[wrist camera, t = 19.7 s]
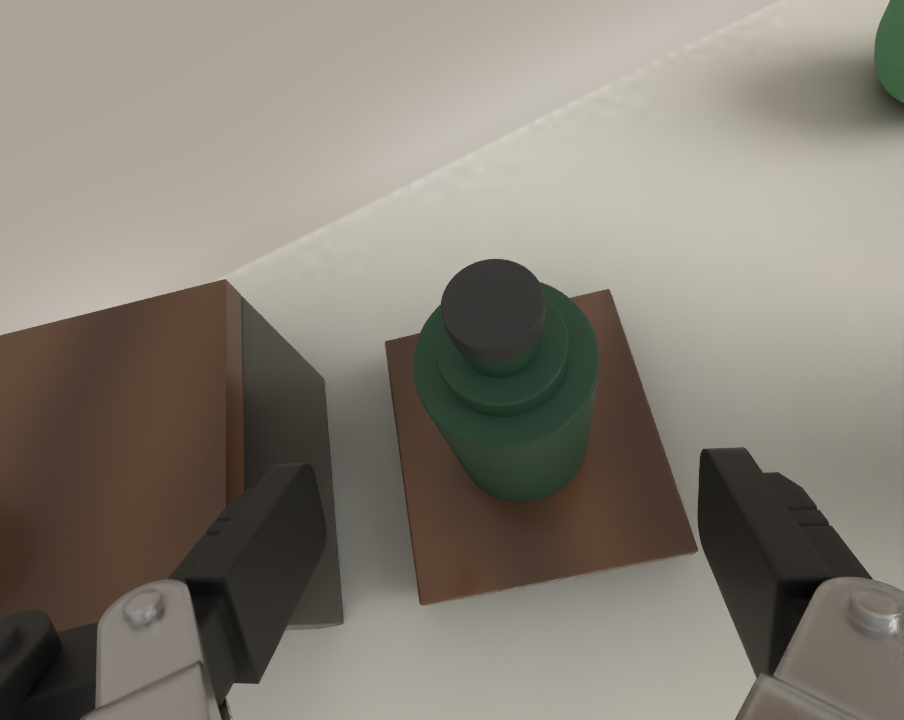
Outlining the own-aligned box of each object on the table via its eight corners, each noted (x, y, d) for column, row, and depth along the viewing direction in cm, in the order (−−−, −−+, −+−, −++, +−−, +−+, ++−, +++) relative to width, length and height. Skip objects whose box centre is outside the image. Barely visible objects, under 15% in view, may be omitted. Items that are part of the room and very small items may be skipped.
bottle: (568, 364, 26) (574, 188, 15) (603, 487, 23) (639, 379, 13) (447, 391, 26) (371, 238, 16) (469, 514, 24) (396, 432, 13)
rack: (605, 313, 29) (625, 178, 20) (686, 557, 24) (761, 522, 15) (132, 422, 31) (-40, 344, 22) (113, 668, 26) (-119, 695, 17)
